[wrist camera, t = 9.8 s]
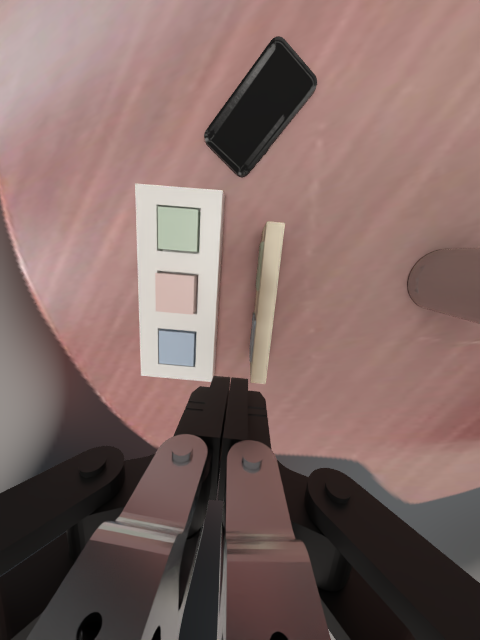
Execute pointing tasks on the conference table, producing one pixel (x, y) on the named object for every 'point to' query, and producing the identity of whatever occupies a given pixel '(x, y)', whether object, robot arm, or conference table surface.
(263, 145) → the phone
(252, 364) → the card
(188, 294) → the key rose
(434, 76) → the conference table surface
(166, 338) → the key slate
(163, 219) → the key sage
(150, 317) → the keypad
